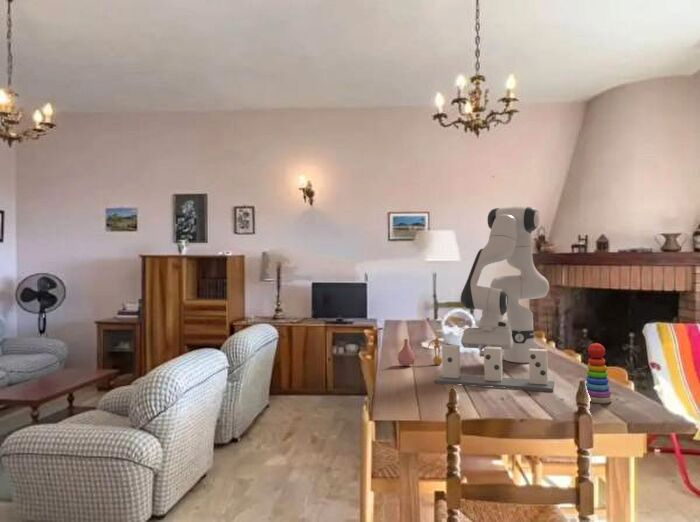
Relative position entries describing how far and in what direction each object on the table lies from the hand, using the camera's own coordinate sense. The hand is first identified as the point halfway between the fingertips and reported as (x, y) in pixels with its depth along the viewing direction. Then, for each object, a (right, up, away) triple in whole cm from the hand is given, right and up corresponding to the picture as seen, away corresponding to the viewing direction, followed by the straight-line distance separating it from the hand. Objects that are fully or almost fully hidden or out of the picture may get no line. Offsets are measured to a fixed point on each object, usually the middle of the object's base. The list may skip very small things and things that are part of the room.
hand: (483, 355), depth 202 cm
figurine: (-13, -9, +29) cm, 33 cm away
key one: (-13, -8, -2) cm, 15 cm away
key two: (+2, -7, -9) cm, 12 cm away
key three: (+16, -7, -15) cm, 23 cm away
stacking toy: (+28, -8, -35) cm, 46 cm away
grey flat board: (+2, -9, -9) cm, 13 cm away
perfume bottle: (-27, -10, +27) cm, 39 cm away
